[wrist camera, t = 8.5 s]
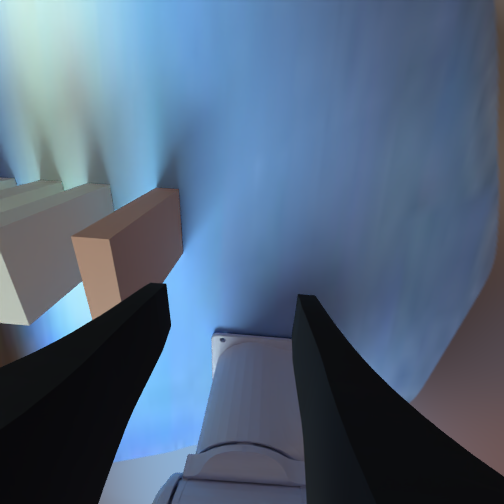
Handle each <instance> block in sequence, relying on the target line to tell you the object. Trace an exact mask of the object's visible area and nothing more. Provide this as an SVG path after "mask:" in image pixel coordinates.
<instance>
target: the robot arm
mask: <svg viewBox="0 0 504 504" xmlns="http://www.w3.org/2000/svg"><path fill="white" fill-rule="evenodd" d="M170 327H171V320H170V311H169V303H168V294H167V286H166V284H163V283H149V284H147V285H146V286H144V287H142V288H141V289H139V290H138V291H136V292H135V293H133V294H132V295H130V296H129V297H127V298H126V299H125V300H123V301H122V302H120V303H118V304H117V305H115V306H114V307H112V308H111V309H109V310H108V311H106V312H105V313H103V314H102V315H100V316H98V317H97V318H95V319H93V320H92V321H90V322H88V323H87V324H85V325H84V326H82V327H80V328H79V329H77V330H75V331H74V332H72V333H70V334H68V335H66V336H65V337H63V338H61V339H59V340H57V341H55V342H53V343H51V344H49V345H48V346H46V347H44V348H42V349H40V350H38V351H36V352H34V353H32V354H30V355H27V356H25V357H23V358H21V359H18V360H16V361H14V362H12V363H10V364H7V365H5V366H3V367H1V368H0V504H98V503H99V500H100V497H101V494H102V490H103V488H104V485H105V482H106V480H107V477H108V474H109V471H110V468H111V466H112V463H113V460H114V458H115V455H116V452H117V450H118V447H119V444H120V442H121V439H122V437H123V434H124V431H125V429H126V426H127V424H128V421H129V419H130V417H131V414H132V412H133V410H134V408H135V406H136V404H137V401H138V399H139V397H140V395H141V393H142V391H143V389H144V387H145V385H146V383H147V381H148V379H149V377H150V375H151V373H152V371H153V369H154V367H155V365H156V363H157V361H158V359H159V357H160V355H161V353H162V351H163V348H164V345H165V342H166V340H167V337H168V334H169V331H170ZM222 338H224V339H222ZM152 504H504V477H503V476H502V475H501V474H499V473H498V472H496V471H495V470H494V469H492V468H491V467H489V466H488V465H487V464H485V463H484V462H482V461H481V460H479V459H478V458H477V457H475V456H474V455H473V454H471V453H470V452H469V451H467V450H466V449H464V448H463V447H462V446H460V445H459V444H458V443H457V442H456V441H454V440H453V439H452V438H450V437H449V436H448V435H446V434H445V433H444V432H442V431H441V430H440V429H439V428H438V427H436V426H435V425H434V424H433V423H431V422H430V421H429V420H428V419H426V418H425V417H424V416H423V415H421V414H420V413H419V412H418V411H417V410H416V409H415V408H414V407H412V406H411V405H410V404H409V403H408V402H407V401H406V400H404V399H403V398H402V397H401V396H400V395H399V394H398V393H397V392H396V391H394V390H393V389H392V388H391V387H390V386H389V385H388V384H387V383H386V382H385V381H384V380H383V379H382V378H381V377H380V376H379V375H378V374H377V373H376V372H375V371H374V370H373V369H372V368H371V367H370V366H369V365H368V364H367V363H366V361H365V360H364V359H363V358H362V357H361V356H360V355H359V353H358V352H357V351H356V350H355V349H354V348H353V346H352V345H351V344H350V343H349V342H348V340H347V339H346V338H345V337H344V335H343V334H342V333H341V331H340V330H339V329H338V328H337V326H336V325H335V324H334V322H333V321H332V319H331V318H330V317H329V315H328V314H327V312H326V311H325V309H324V308H323V306H322V305H321V303H320V302H319V300H318V299H317V298H316V296H315V295H302V294H298V298H297V304H296V311H295V317H294V324H293V331H292V339H286V338H275V337H263V336H252V335H240V334H229V333H214V334H213V335H212V386H211V390H210V394H209V398H208V403H207V407H206V411H205V416H204V420H203V424H202V429H201V433H200V437H199V441H198V446H197V451H196V454H189V455H188V456H187V460H186V464H185V468H184V472H183V473H174V474H173V475H172V476H170V478H169V479H168V480H167V482H166V483H165V484H164V485H163V486H162V488H161V489H160V490H159V491H158V493H157V495H156V497H155V499H154V501H153V503H152Z"/></svg>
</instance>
